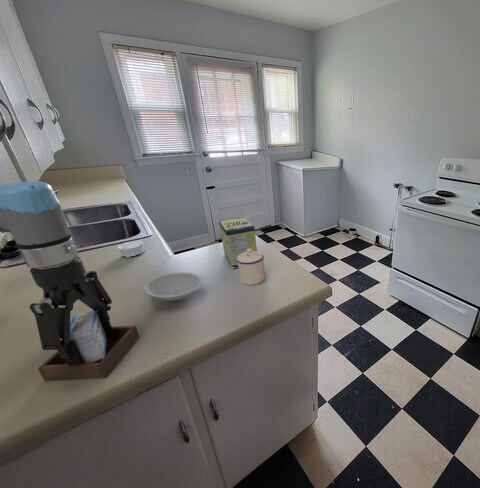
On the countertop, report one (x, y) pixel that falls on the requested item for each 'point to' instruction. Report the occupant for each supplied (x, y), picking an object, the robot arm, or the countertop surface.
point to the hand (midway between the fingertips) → (93, 349)
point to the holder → (99, 369)
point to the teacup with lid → (251, 267)
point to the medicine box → (89, 336)
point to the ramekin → (131, 248)
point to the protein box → (237, 238)
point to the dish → (173, 286)
